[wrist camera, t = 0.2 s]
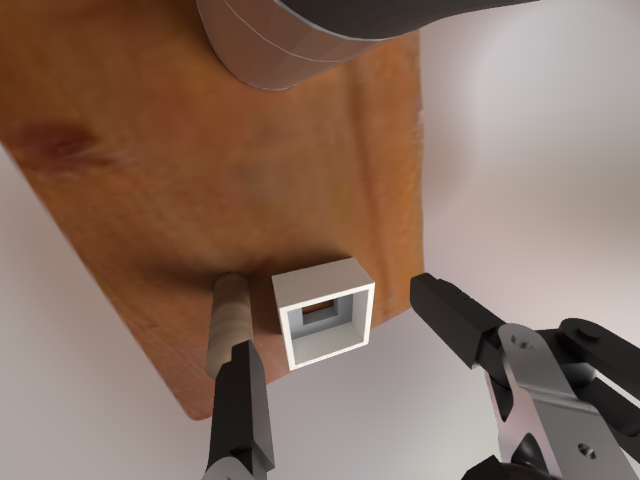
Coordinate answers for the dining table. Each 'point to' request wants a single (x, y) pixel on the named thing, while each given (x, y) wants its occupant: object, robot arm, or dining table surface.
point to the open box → (324, 310)
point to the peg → (228, 320)
